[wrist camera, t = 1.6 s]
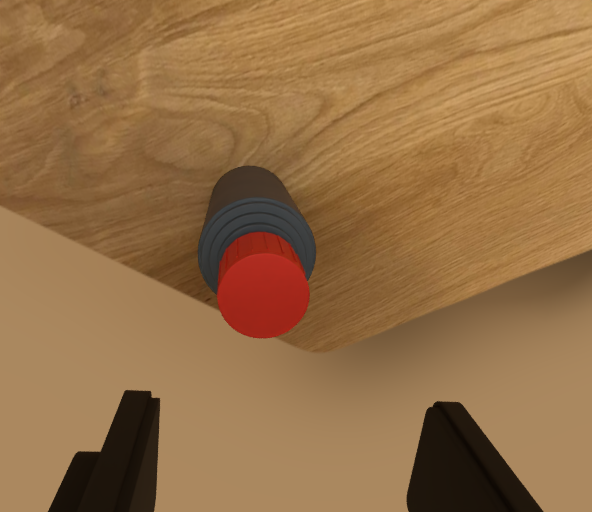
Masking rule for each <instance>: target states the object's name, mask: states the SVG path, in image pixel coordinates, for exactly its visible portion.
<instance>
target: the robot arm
mask: <svg viewBox="0 0 592 512" xmlns="http://www.w3.org/2000/svg"><path fill="white" fill-rule="evenodd" d="M159 413H160V398H151V391H133V390H126V391H125V392H124V394H123V397H122V399H121V402H120V404H119V407H118V410H117V412H116V414H115V417H114V419H113V422H112V424H111V427H110V429H109V432H108V435H107V437H106V440H105V442H104V445H103V447H102V450H101V452H81V451H80V452H77V453H76V454H75V456H74V458H73V459H72V462H71V464H70V466H69V468H68V470H67V472H66V474H65V476H64V479H63V481H62V483H61V485H60V487H59V489H58V492H57V494H56V496H55V498H54V500H53V502H52V504H51V507H50V508H49V511H48V512H154V507H155V500H156V484H157V460H158V438H159ZM407 507H408V511H409V512H543V511H542V509H541V508H540V507H539V505H538V504H537V503H536V501H535V500H534V499H533V497H532V496H531V495H530V493H529V492H528V491H527V489H526V488H525V487H524V485H523V484H522V483H521V482H520V480H519V479H518V478H517V476H516V475H515V474H514V472H513V471H512V470H511V468H510V467H509V466H508V465H507V463H506V462H505V460H504V459H503V458H502V456H501V455H500V454H499V452H498V451H497V450H496V449H495V447H494V446H493V445H492V443H491V442H490V441H489V439H488V438H487V437H486V435H485V434H484V433H483V432H482V430H481V429H480V427H479V426H478V425H477V424H476V422H475V421H474V419H473V418H472V417H471V416H470V414H469V413H468V412H467V410H466V409H465V408H464V406H463V405H462V404H461V403H459V402H440V401H439V402H438V401H437V402H435V403H434V405H433V407H429V408H428V409H427V411H426V414H425V418H424V423H423V428H422V432H421V436H420V440H419V444H418V449H417V453H416V457H415V462H414V466H413V470H412V475H411V479H410V483H409V488H408V492H407Z"/></svg>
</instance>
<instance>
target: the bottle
mask: <svg viewBox="0 0 592 512" xmlns="http://www.w3.org/2000/svg"><path fill="white" fill-rule="evenodd" d="M253 232H268V233H272V234H275V235H279V237H281V238H283V239H284V240H285V241H287V242H288V243H290V244H291V247H292V248H293V249H294V251H295V253H296V254H297V255H298V257H299V259H300V262H301V264H302V266H303V269H304V271H305V273H306V275H305V277H306V279H307V281H308V280H309V278H310V276H311V274H312V271H313V268H314V264H315V258H316V247H315V241H314V237H313V234H312V231H311V229H310V227H309V225H308V224H307V222H306V220H305V219H304V217H303V216H302V214H301V212H300V211H299V209H298V208H297V206H296V204H295V203H294V201H293V200H292V198H291V196H290V195H289V193H288V192H287V190H286V188H285V187H284V185H283V184H282V182H281V181H280V180H279V179H278V178H277V177H276V176H275V175H274V174H273V173H271V172H270V171H268V170H266V169H264V168H261V167H256V166H242V167H238V168H235V169H233V170H231V171H229V172H227V173H226V174H225V175H224V176H222V177H221V178H220V180H219V181H218V182H217V184H216V185H215V187H214V189H213V192H212V195H211V199H210V203H209V207H208V210H207V214H206V218H205V222H204V225H203V229H202V233H201V237H200V240H199V245H198V263H199V267H200V271H201V274H202V276H203V278H204V280H205V282H206V283H207V285H208V286H209V287H210V289H211V290H212V291H213V292H214V293H215V294H216V295H217V288H218V275H219V265H220V261H221V260H222V257H223V255H224V253H225V250H226V248H228V247H229V246H230V244H231V243H232V242H234V241H235V240H236V239H238V238H239V237H241V236H243V235H246V234H248V233H253Z"/></svg>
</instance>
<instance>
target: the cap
mask: <svg viewBox="0 0 592 512" xmlns="http://www.w3.org/2000/svg"><path fill="white" fill-rule="evenodd" d="M305 275H306V273H305V271H304V269H303V266H302V264H301V262H300V259H299V257H298V255H297V254H296V253H295V251H294V249H293V248H292V247H291V244H290V243H288V242H287V241H285V240H284V239H283V238H281V237H279V235H275V234H272V233H268V232H253V233H248V234H246V235H243V236H241V237H239V238H238V239H236V240H235V241H234V242H232V243H231V244H230V246H229V247H228V248H226V250H225V253H224V255H223V257H222V260H221V261H220V265H219V275H218V288H217V298H218V305H219V309H220V312H221V314H222V316H223V317H224V319H225V321H226V322H227V323H228V324H229V325H230V326H231V327H232V328H233V329H235V330H236V331H237V332H239V333H241V334H243V335H246V336H249V337H253V338H272V337H276V336H279V335H281V334H284V333H285V332H287V331H289V330H290V329H292V328H293V327H294V326H295V325H296V324H297V323H298V322H299V321H300V320H301V319H302V317H303V316H304V314H305V312H306V309H307V307H308V303H309V286H308V282H307V279H306V277H305Z"/></svg>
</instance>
